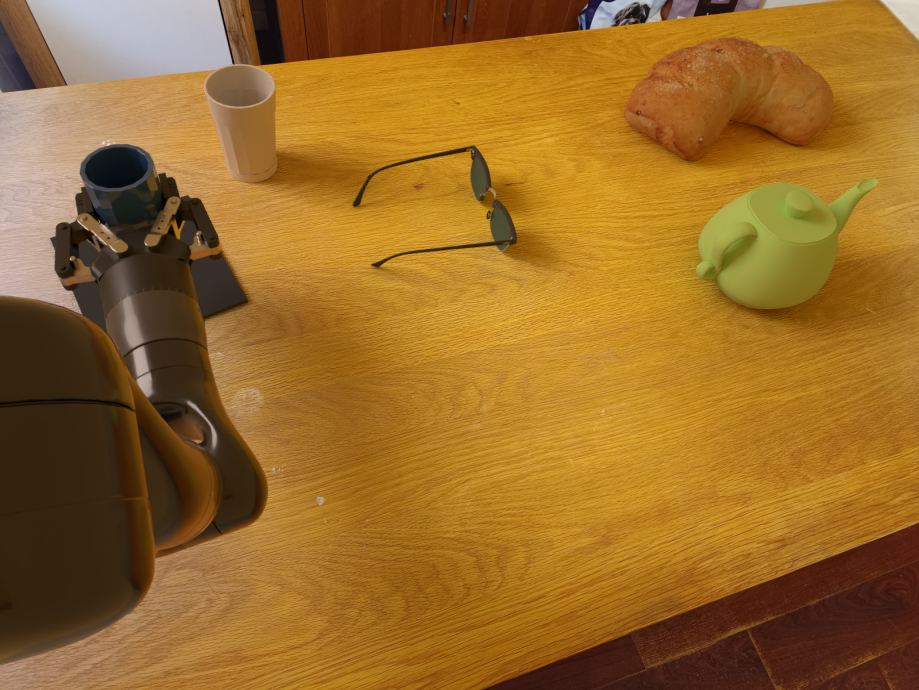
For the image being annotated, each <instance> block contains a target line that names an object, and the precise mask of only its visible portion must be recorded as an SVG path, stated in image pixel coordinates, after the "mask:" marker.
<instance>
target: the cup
mask: <svg viewBox="0 0 919 690" xmlns="http://www.w3.org/2000/svg"><path fill="white" fill-rule="evenodd" d="M276 84H277V83H276V81H275V78H274V77H273V76H272V74H270V73H269V72H268V71H267V70H265V69H263V68H261V67H259V66H256V65H251V64H246V63H245V64H244V63H237V64H236V63H233V64H228V65H224V66H221V67H218V68H216V69H215V70H213V71H212V72H210V73H209V74H208V75H207V76H206V78H205V80H204V82H203V92H204V94H205V98H206V101H207V104H208V108H209V111H210V115H211V117H212V121H213V124H214V128H215V131H216V134H217V137H218V141H219V144H220V149H221V151H222V155H223V158H224V162H225V166H226V171H227V173H228V174H229V175H230V177H232V178H233V179H235V180H237V181H239V182H243V183H247V184H251V183H253V184H254V183H260V182H264V181H266V180H268V179H269V178H272V177H273V176H274V175H275V173H276V172H277V170H278V165H279V164H278V156H277V138H276V137H277V136H276V135H277V134H276V133H277V132H276V110H277V102H276V101H277V99H276V98H277V97H276V96H277V93H276V92H277V85H276Z"/></svg>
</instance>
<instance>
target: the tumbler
mask: <svg viewBox="0 0 919 690" xmlns="http://www.w3.org/2000/svg"><path fill="white" fill-rule="evenodd" d="M154 161H155V160H153V158H152V156H151V154H150V152H148V151H146V150H145V149H143V148H142V147H140V146H138V145H134V144H130V143H112V144H109V145H104V146H102V147H98V148H97V149H95V150H93V151H92V152H90V153H88V154H87V155H86V156H85V158H84V159H83V160H82V161H81V163H80V167H79V176H80V179H81V181H82V183H83V187H84V186H85V188H86V190H87V193H88V195H89V197H90V200H91V202H92V205H93V207H94V209H95V212H96V214H97V216H98V219H99V223H100V224H101V223H102V224H104V225H105V226H106V227H107V228H108V229H109V230H110V231H112V232H113V233H114V234H115V235H116V232H118V231H123V230H136V229H138V228H141V227H144V226H149V225H152V226H153V224H154V222H155V220H156V217H157V215H158V213H159V212H162V211H163V209H164V207H165V204H166V203H165V200H164V196H163V192H162V188H161V184H160V180H159V176H158V174H159V173H158V171H157V168H156V165H155V162H154Z"/></svg>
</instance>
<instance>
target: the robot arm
mask: <svg viewBox="0 0 919 690" xmlns="http://www.w3.org/2000/svg"><path fill="white" fill-rule="evenodd" d="M157 174H158V178H159V181H160V184H161V188H162V192H163V196H164V200H165V203H166V204H165V207H164V209H163V211H162V212H159V213H158V215H157V217H156V220H155V222H154V224H153V226H152V225H149V226H144V227H141V228H138V229H136V230H123V231H118V232H116V235H115V234H114V233H113V232H112V231H110V230H109V229H108V228H107V227H106V226H105V225H104V224H102V223H101V224H100V221H99V219H98V216H97V214H96V212H95V209H94V207H93V205H92V202H91V200H90V197H89V195H88V193H87V190H86V188H85V186H84V185H83V186H80V191H81V192H77V193H76V194H75V196H74V201H75V206H76V212H77V217H76V219H75V220H74V221H72V222H70V223H69V222H67V221H61V222H59V223H57V224H56V226H55V236H54V237H55V249H54V267H53V268H54V273H56V276H57V278H58V280H59V282H60V283H61V285H62V288H64V290H65V291H68V292H73V291H72V290H75V289H76V288H77V287H78V286H79V283H82V282H90V281H95V283H96V284H97V285H99V288H100V294H101V299H102V305H103V311H104V317H105V323H106V329H107V332H106V331H105V330H104V329H103V328H102V327H101V326H99V325H98V324H97V323H95V322H94V321H92V320H91V319H89V318H88V317H86V316H84V315H82V313H80V312H77V311H75V310H72V309H71V308H68V307H66V306H63V305H60V304H55V303H52V302H50V301H49V302H48V301H45V300H41V299H38V298H37V299H35V298H28V297H24V296H23V297H22V296H14V295H3V294H2V295H0V666H3V665H7V664H11V663H15V662H18V661H23V660H26V659H30V658H33V657H37V656H40V655H44V654H47V653H50V652H53V651H55V650H59V649H62V648H65V647H67V646H70V645H73V644H76V643H78V642H80V641H83V640H86V639H88V638H90V637H93V636H94V635H96V634H98V633H100V632H102V631H104V630H107V629H108V628H110V627H112V626H113V625H115V624H116V623H118V622H119V621H121V620H123V618H125V617H126V616H127V615H129V614H130V613H132V612H133V611H134V610H136V608H138V607H139V605H140V604H141V603H142V602H143V600H144V599H145V597H146V596H147V595H148V593H149V591H150V588H151V586H152V584H153V583H154V582H153V581H154V579H155V573H156V572H155V571H156V559H160V558H164V557H167V556H170V555H174V554H176V553H179V552H182V551H185V550H187V549H190V548H191V549H192V548H194V547H196V546H198V545H201V544H204V543H206V542H210V541H213V540H215V539H217V538H220V537H223V536H224V535H230V534H231V533H235V532H238V531H240V530H243V529H247V528H248V527H250V526H252V525H253V524H255V523H256V522H257V521H258V520H259V519H260V518H261V516H262V515H263V513H264V511H265V509H266V506H267V504H268V499H269V483H268V479H267V475H266V473H265V471H264V468H263V466H262V465H261V463H260V460H259V459H258V458H257V456H256V454H255V453H254V451H253V450H252V449H251V447H250V446H249V444H248V443H247V442H246V440H245V439H244V437H243V436H242V434H241V433H240V432H239V430H238V429H237V427H236V425H235V424H234V422H233V420H232V419H231V417H230V415H229V414H228V412H227V409H226V407H225V404H224V403H223V399H222V398H221V396H220V392H219V389H218V385H217V382H216V377H215V375H214V370H213V367H212V363H211V358H210V355H209V345H208V336H207V329H206V321H205V318H204V319H203V316H202V314H201V310H200V306H199V302H198V298H197V294H196V290H195V286H194V282H193V279H192V275H191V271H190V270H191V266H192V264H193V260H195V259H199V258H202V257H205V256H209V257H210V259H212V260H219V259H220V258H221V257H222V255H223V250H222V246H221V243H220V238H219V235H218V233H217V231H216V227H215V226H214V225H213V222H212V220H211V218H210V215H209V213H208V212H207V209H206V207H205V205H204V203H203V201H202V199H201V198H199V197H192V198H190V200H189V201H184V200H182V199H181V198H180V197H181V196H180V191H179V188H178V184H177V181H176V179H175V178H174V177H173V176H167V173H166V172H160V173H157ZM185 221H193V222H194V224H195V227H196V229H197V232H196V234H197V235H195V236H194V243H193V244H192V245H191V246H188V245H187V244H186V243H184V242H182V241H181V240H180V232H181V230H182V227H183V225H184V223H185ZM85 240H87V241H88V242H89V243H90V244H91V245H93V246H94V247H95V248H96V249H97V250H98V252H99V253H98V255H97V256H96V257H95V259H94V260H93V261H92V263H91V265H90V267H88V266H85V265H84V264H83V262H82V260H81V259H79V243H80V242H83V241H85ZM196 441H200V442H196Z"/></svg>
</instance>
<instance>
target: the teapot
mask: <svg viewBox="0 0 919 690" xmlns="http://www.w3.org/2000/svg"><path fill="white" fill-rule="evenodd" d="M878 184H879V180H878V179H876V178H874V177H870V178H865V179H863V180H861V181H859V182H857V183H856V184H855V185H853V186H852V187H851V188H849V189H848V190H847V191H845V192H844V193H842V194H841V195H840V196H839V197H838V198H836V199H835V200H834V201H832V202H831V203H829V204H826V203H825V202H824V201H823V200H822V199H821V197H819V196H818V195H817V194H816V193H815V192H814V191H812V190H810V189H809V188H808V187H805V186H803V185H801V184H797V183H793V182H773V183H767V184H764V185H761V186H759V187H756V188H754V189H752V190H750V191H748V192H745V193H743V194H741V195H740V196H738V197H736V198H735V199H732V200H731V201H730V202H728V203H726V205H724V206H723V207H722V208H720V209H719V210H718V211H717V212H716V213H715V214H713V216H712V217H711V218H710V219H709V220H708V222H707V223H706V224H705V225H704V226H703V228H702V230H701V231H700V233H699V236H698V240H697V250H698V254H699V257H700V261H701V262H700V263H699V264H697V266H696V268H695V274H696V277H698V279H700V280H702V281H712V282H713V283H714V284H715V286H716V287H717V288H718V289H719V290H720V291H721V292H722V293H723V295H725V296H726V297H727V298H728V299H730V300H731V301H732V302H734V303H736V304H738V305H740V306H743V307H745V308H748V309H749V308H750V309H754V310H777V309H779V310H780V309H785V308H790V307H794V306H797V305H800V304H803V303H805V302H806V301H808V300H810V299H811V298H813V297H814V296H816V295H817V294H818V292H819V291H820V290H821V289H822V288H823V286H824V285H825V284H826V282H827V281H828V278H829V277H830V275H831V273H832V271H833V268H834V266H835V263H836V259H837V254H838V246H839V245H838V244H839V235H840V233H842V231H843V229H844V228H845V226H846V224H847V222H848V221H849V219H850V217H851V215H852V213H853V212H854V210H855V208H856V206H857V205H858V204H859V202H860V201H861V200H862V199H863V198H864V197H865V196H866V195H867V194H869V193H870V192H871V191H873V190H874V189H875V188H876V187H877V185H878Z"/></svg>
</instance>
